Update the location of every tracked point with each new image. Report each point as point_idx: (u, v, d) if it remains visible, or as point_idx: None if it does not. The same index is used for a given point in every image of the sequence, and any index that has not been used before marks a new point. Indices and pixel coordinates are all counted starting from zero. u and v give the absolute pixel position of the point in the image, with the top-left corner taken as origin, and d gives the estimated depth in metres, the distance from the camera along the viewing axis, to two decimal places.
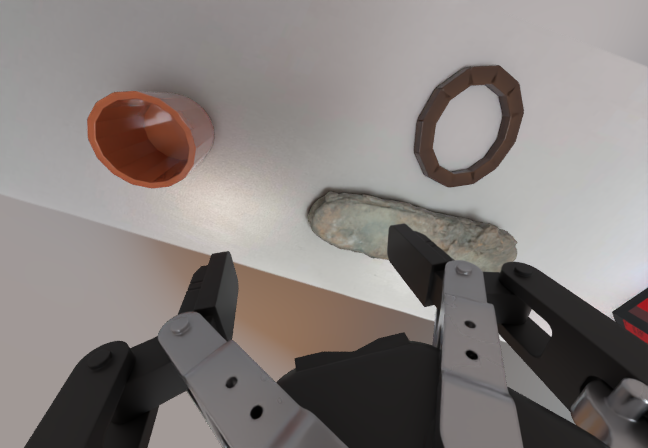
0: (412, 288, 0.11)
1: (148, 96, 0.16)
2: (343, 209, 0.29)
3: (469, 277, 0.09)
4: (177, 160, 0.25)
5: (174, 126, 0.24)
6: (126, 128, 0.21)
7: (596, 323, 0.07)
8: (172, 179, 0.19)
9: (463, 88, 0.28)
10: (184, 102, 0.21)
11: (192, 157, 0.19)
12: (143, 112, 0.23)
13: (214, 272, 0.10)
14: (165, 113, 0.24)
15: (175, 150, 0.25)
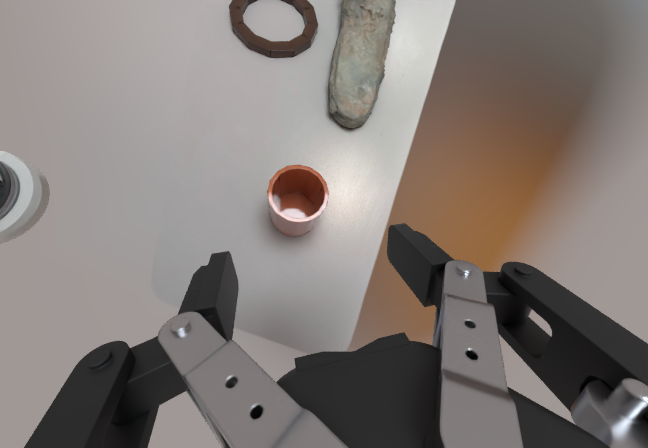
0: (412, 288, 0.11)
1: (269, 185, 0.27)
2: (341, 94, 0.37)
3: (469, 277, 0.09)
4: (315, 213, 0.34)
5: (291, 213, 0.34)
6: None
7: (596, 323, 0.07)
8: (321, 180, 0.28)
9: (246, 26, 0.39)
10: None
11: (305, 167, 0.28)
12: None
13: (214, 272, 0.10)
14: None
15: (308, 215, 0.35)
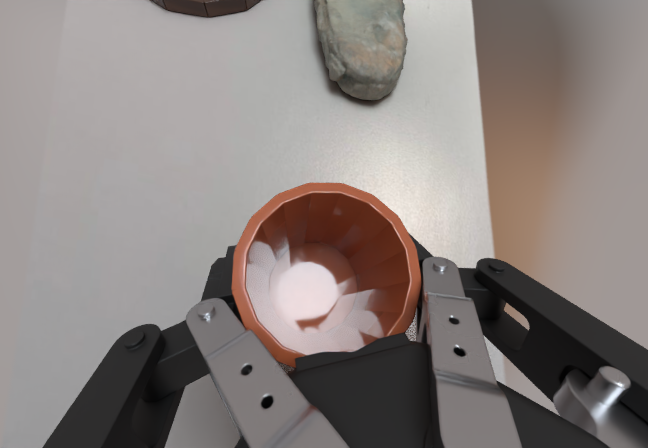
0: None
1: (235, 266, 0.08)
2: (346, 40, 0.20)
3: (444, 273, 0.09)
4: (357, 277, 0.16)
5: (308, 290, 0.16)
6: (327, 339, 0.12)
7: (568, 313, 0.07)
8: (383, 213, 0.09)
9: None
10: None
11: (328, 185, 0.10)
12: (301, 332, 0.14)
13: (232, 263, 0.10)
14: (294, 305, 0.16)
15: (344, 285, 0.16)
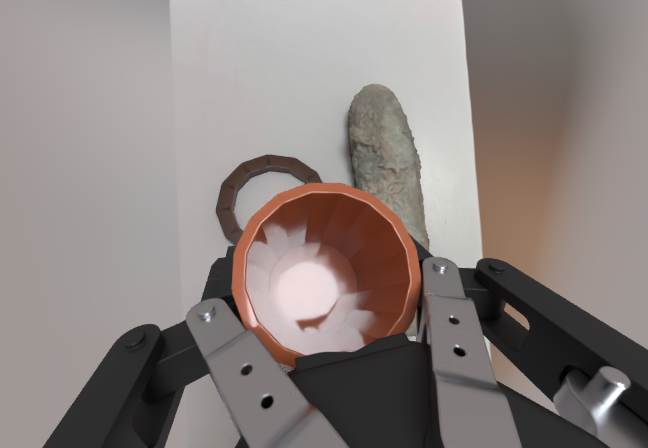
0: None
1: (235, 267, 0.08)
2: None
3: (444, 273, 0.09)
4: (357, 277, 0.16)
5: (308, 290, 0.16)
6: (327, 339, 0.12)
7: (568, 313, 0.07)
8: (383, 213, 0.09)
9: None
10: None
11: (328, 185, 0.10)
12: (301, 332, 0.14)
13: (232, 263, 0.10)
14: (294, 305, 0.16)
15: (344, 285, 0.16)
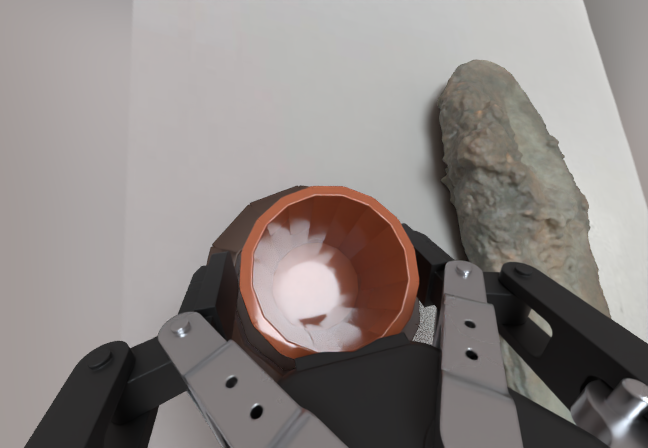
0: None
1: (242, 266, 0.09)
2: None
3: (469, 277, 0.09)
4: (358, 276, 0.16)
5: (311, 288, 0.16)
6: (329, 336, 0.12)
7: (596, 323, 0.07)
8: (383, 215, 0.10)
9: (253, 358, 0.14)
10: None
11: (330, 188, 0.10)
12: (304, 329, 0.15)
13: (214, 272, 0.10)
14: (297, 303, 0.16)
15: (345, 284, 0.17)
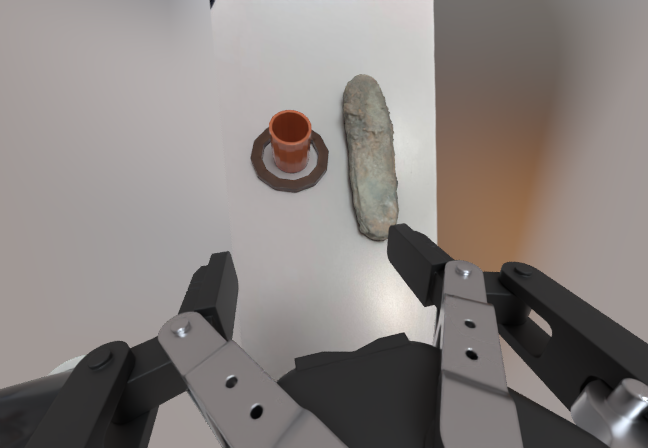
0: (412, 288, 0.11)
1: (269, 125, 0.39)
2: (369, 218, 0.41)
3: (469, 277, 0.09)
4: None
5: None
6: None
7: (596, 323, 0.07)
8: (304, 117, 0.40)
9: (269, 173, 0.44)
10: None
11: (290, 110, 0.40)
12: None
13: (214, 272, 0.10)
14: None
15: None
